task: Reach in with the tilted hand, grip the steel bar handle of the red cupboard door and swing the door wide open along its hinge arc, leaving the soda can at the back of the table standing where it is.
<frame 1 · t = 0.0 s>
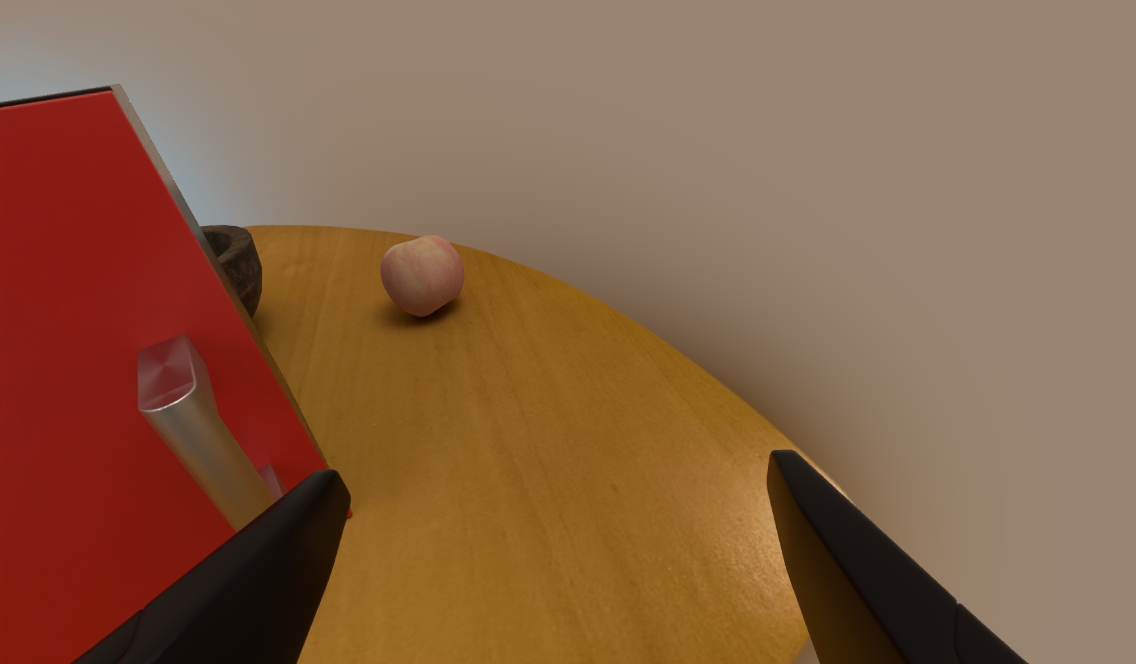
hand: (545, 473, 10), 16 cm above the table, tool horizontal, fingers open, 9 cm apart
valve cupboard: (103, 538, 31), on the table
apple: (434, 311, 52), on the table
bowl: (180, 361, 50), on the table
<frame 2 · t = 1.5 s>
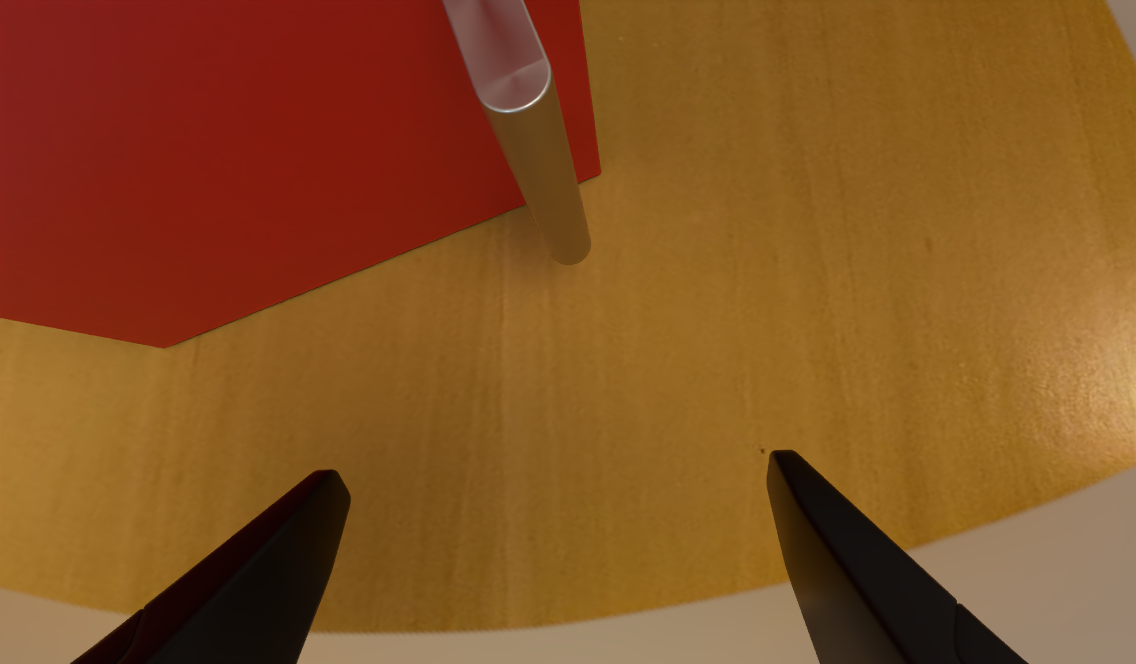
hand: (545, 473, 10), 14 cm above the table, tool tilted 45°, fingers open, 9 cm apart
cupboard door: (194, 200, 15), point 12 cm above the table, hinge at 0.0°
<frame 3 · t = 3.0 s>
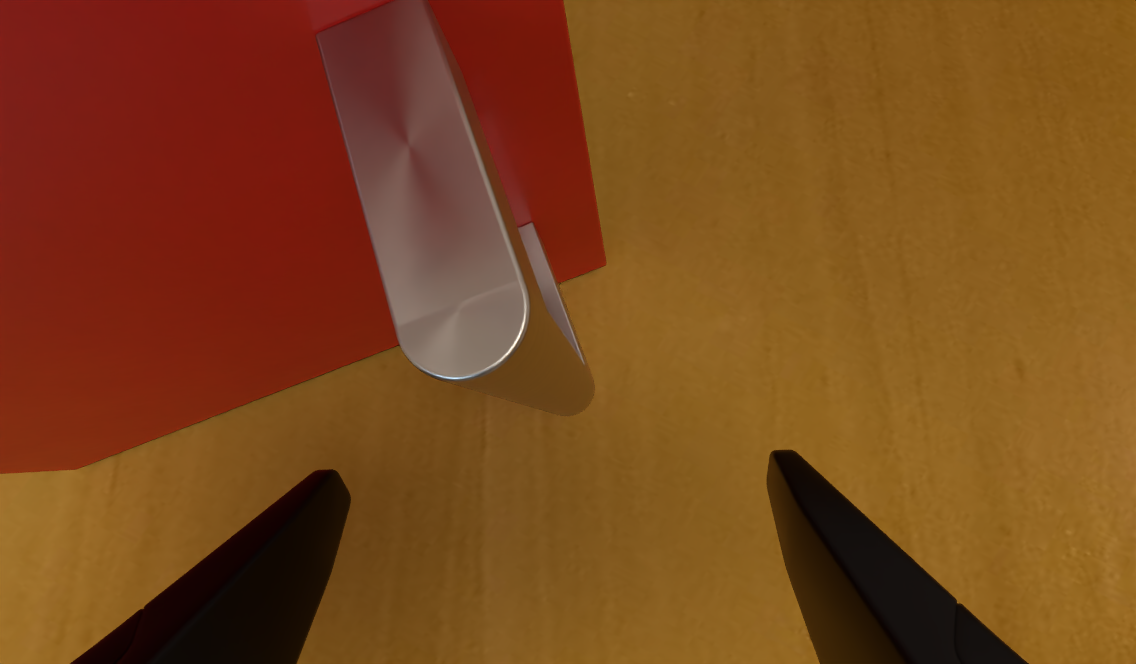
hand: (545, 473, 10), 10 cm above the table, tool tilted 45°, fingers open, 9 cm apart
cupboard door: (7, 406, 10), point 12 cm above the table, hinge at 0.0°
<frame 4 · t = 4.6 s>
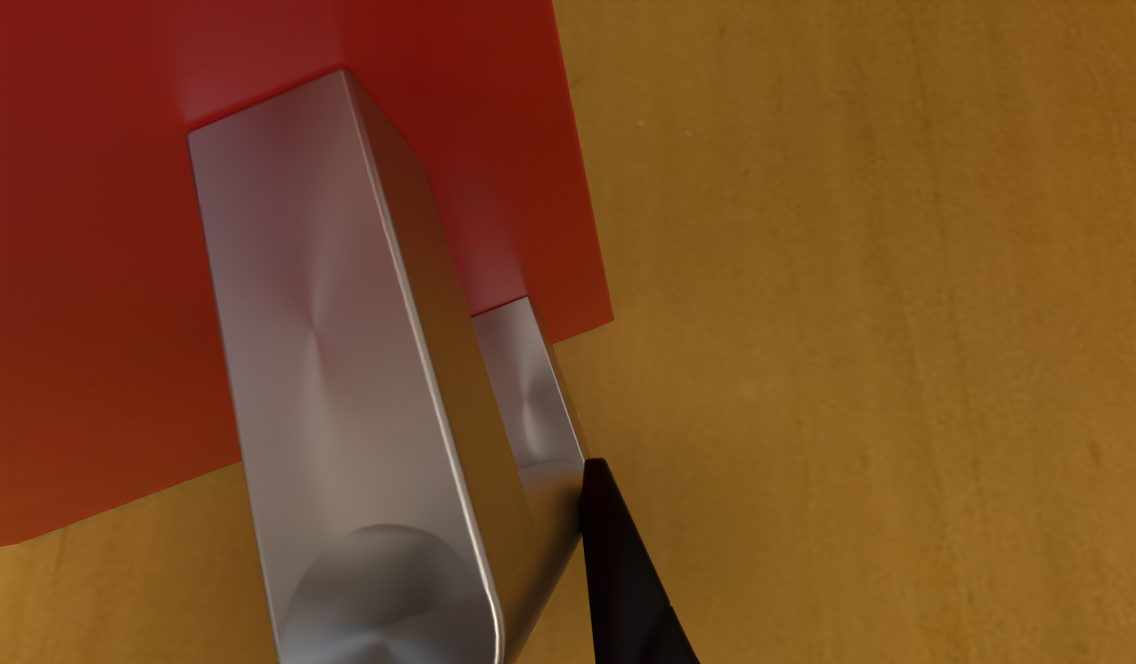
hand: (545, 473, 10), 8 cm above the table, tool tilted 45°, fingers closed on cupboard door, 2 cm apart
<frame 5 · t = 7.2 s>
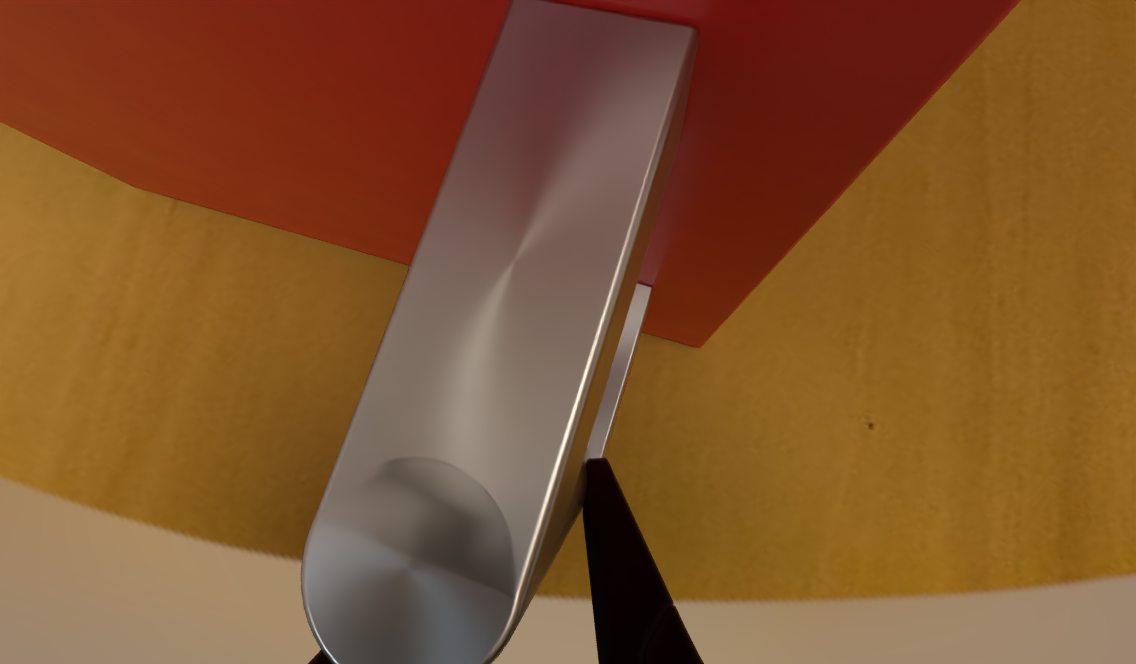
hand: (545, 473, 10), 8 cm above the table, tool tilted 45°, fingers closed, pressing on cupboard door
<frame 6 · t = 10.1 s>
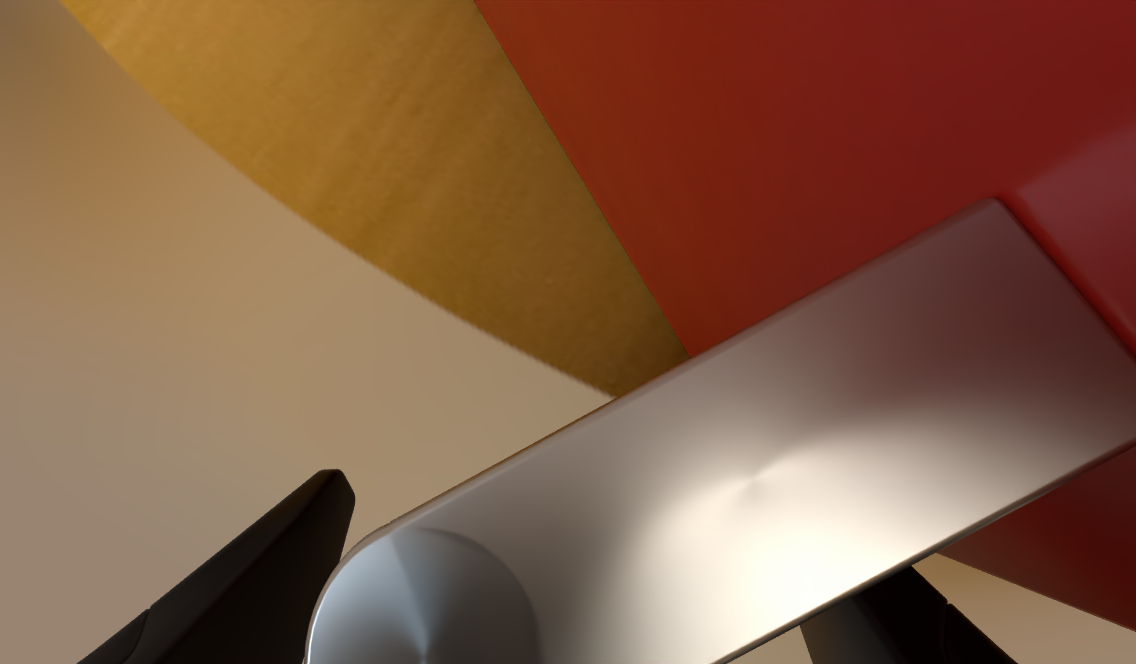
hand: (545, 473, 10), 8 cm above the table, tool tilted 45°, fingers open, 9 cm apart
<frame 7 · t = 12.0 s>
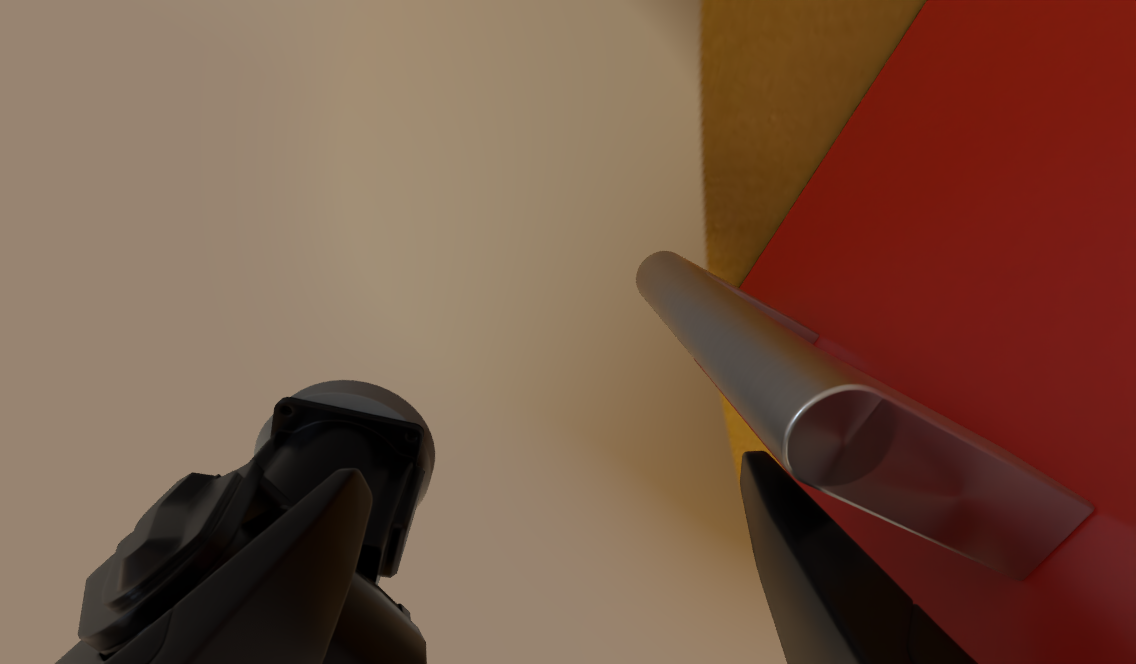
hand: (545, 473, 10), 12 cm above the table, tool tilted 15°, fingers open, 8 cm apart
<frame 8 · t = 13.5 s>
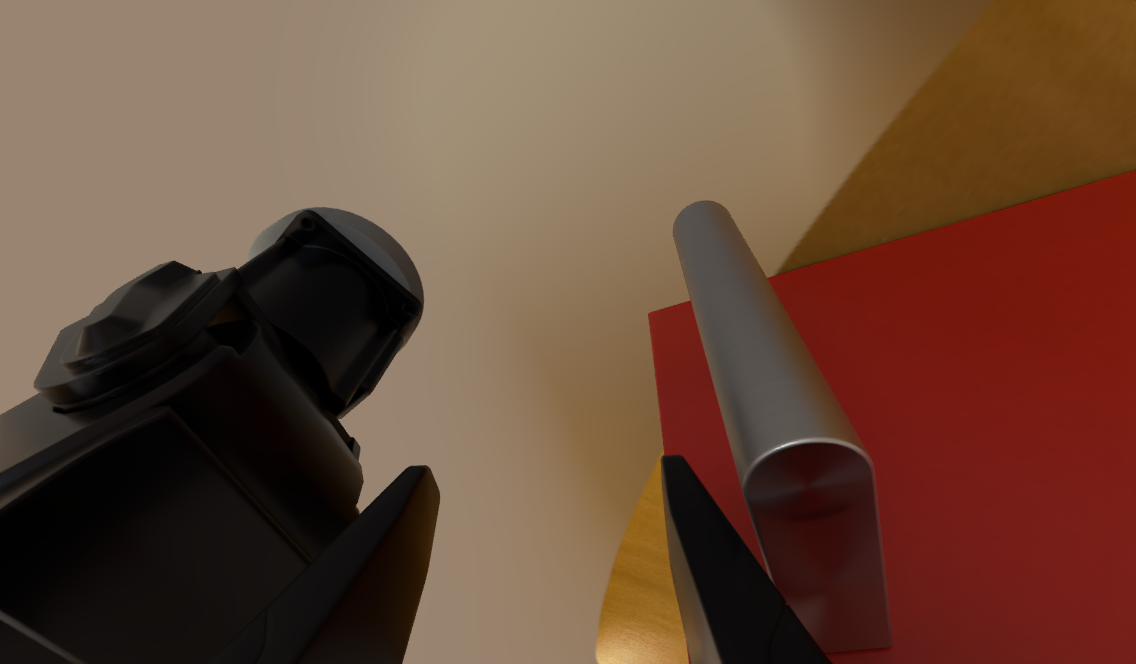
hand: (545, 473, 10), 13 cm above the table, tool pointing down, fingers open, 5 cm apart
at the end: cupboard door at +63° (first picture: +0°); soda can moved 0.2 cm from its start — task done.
